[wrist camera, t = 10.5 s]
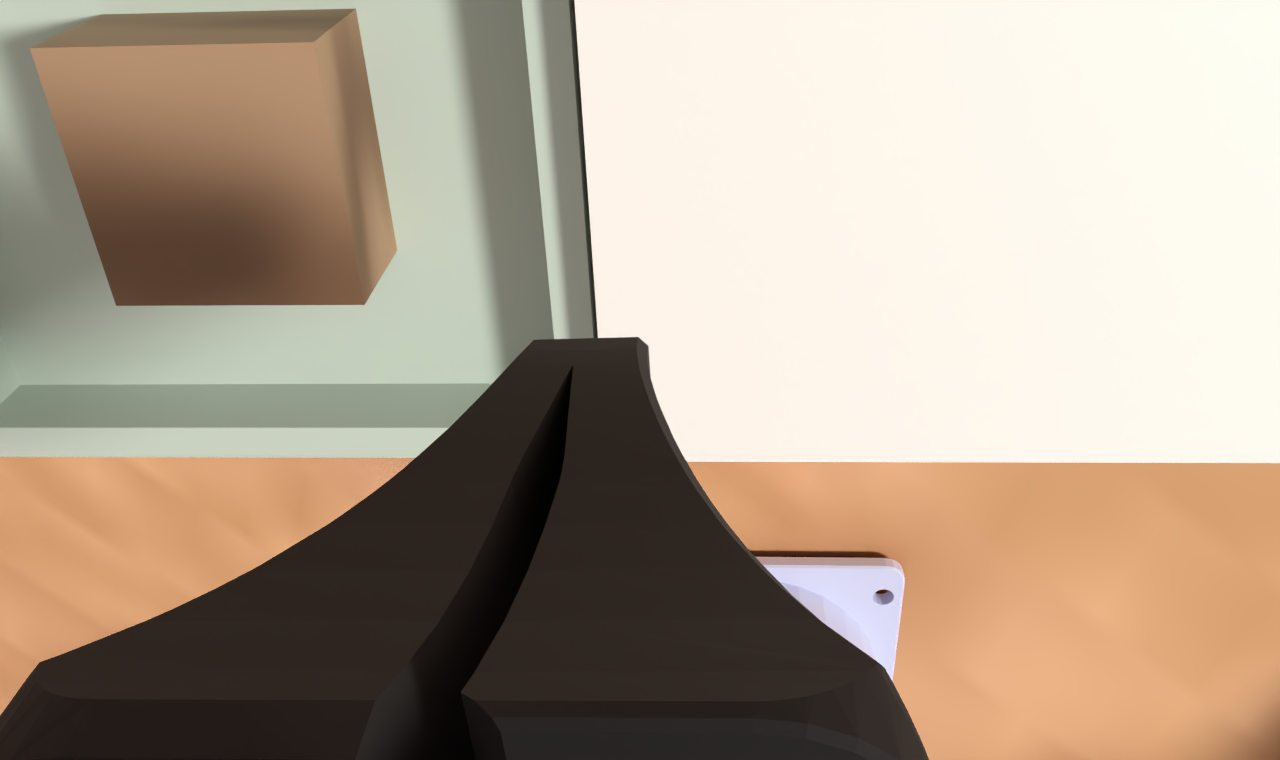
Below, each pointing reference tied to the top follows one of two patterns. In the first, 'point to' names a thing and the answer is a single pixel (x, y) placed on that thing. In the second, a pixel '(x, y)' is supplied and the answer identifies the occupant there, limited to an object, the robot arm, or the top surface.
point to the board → (942, 225)
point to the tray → (312, 334)
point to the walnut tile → (224, 155)
